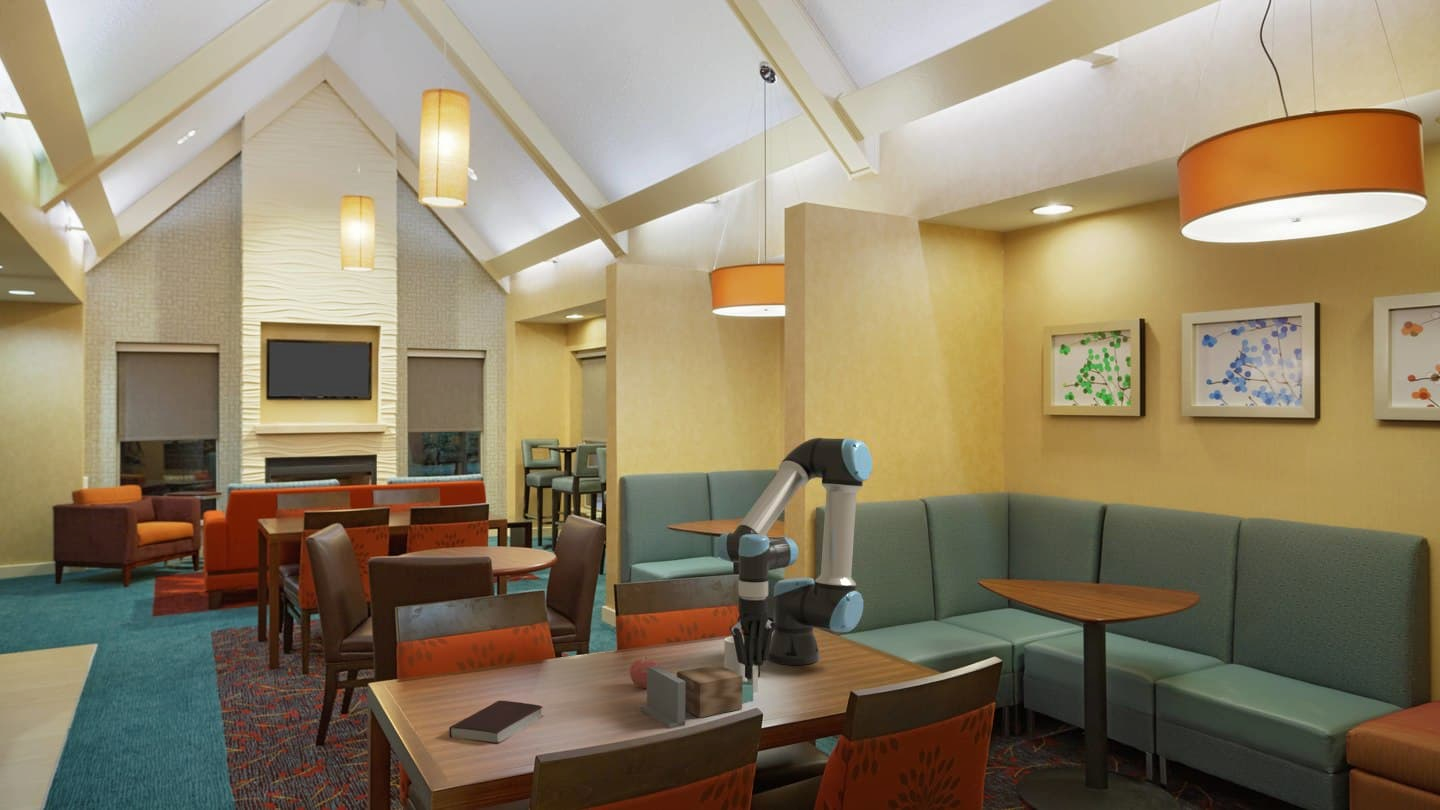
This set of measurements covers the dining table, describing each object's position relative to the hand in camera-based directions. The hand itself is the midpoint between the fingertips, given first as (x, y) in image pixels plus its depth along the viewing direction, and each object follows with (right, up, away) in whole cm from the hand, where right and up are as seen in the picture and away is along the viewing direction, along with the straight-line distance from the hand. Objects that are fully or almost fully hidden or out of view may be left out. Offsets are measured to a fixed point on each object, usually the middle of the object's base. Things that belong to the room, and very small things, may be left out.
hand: (752, 690), depth 226 cm
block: (-11, -2, -7) cm, 13 cm away
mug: (-4, -2, +13) cm, 14 cm away
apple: (-28, -2, +8) cm, 29 cm away
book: (-59, -2, -21) cm, 62 cm away
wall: (-21, -2, -13) cm, 25 cm away
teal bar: (-7, -2, -4) cm, 8 cm away
